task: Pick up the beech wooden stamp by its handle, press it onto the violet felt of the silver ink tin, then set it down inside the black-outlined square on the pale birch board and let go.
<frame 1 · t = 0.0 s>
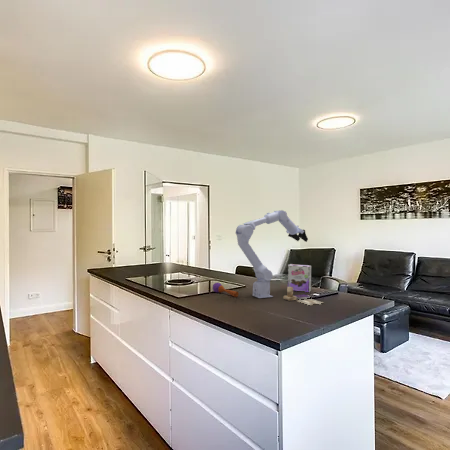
hand: (302, 240, 197), 32 cm above the counter, tool tilted 50°, fingers open, 7 cm apart
ink pad: (301, 298, 182), on the counter
board: (309, 302, 171), on the counter
maraca: (225, 294, 190), on the counter
candy box: (299, 291, 203), on the counter
stamp: (289, 300, 177), on the counter
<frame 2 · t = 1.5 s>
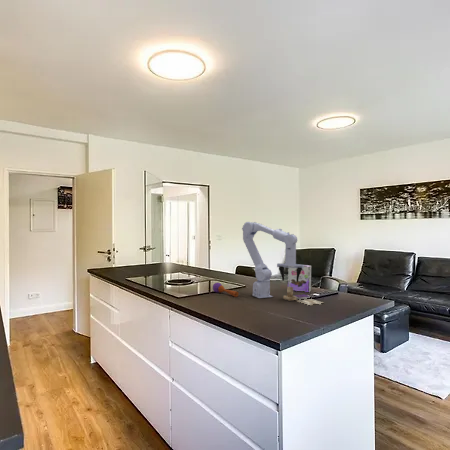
hand: (290, 280, 177), 10 cm above the counter, tool pointing down, fingers open, 7 cm apart
nothing on the counter moved.
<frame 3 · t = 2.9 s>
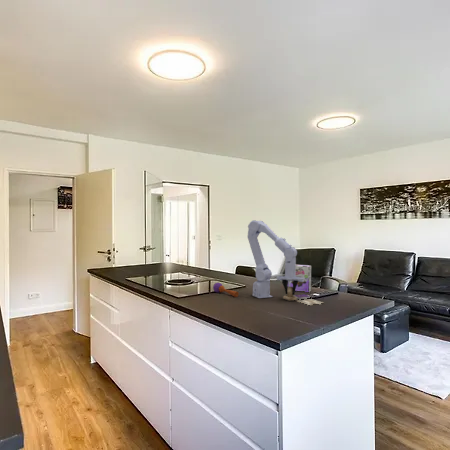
hand: (290, 294, 177), 3 cm above the counter, tool pointing down, fingers closed on stamp, 3 cm apart
stamp: (289, 299, 177), on the counter, touching gripper
everything else where it was.
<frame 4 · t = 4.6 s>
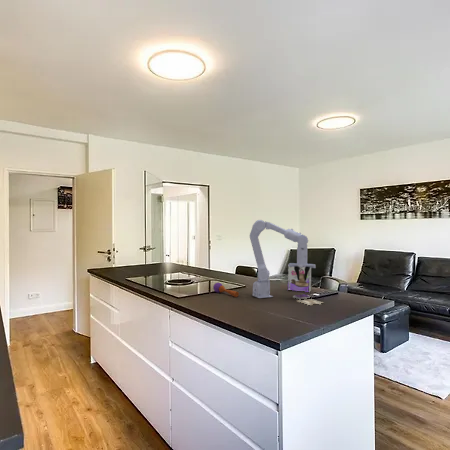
hand: (301, 280, 182), 10 cm above the counter, tool pointing down, fingers closed on stamp, 3 cm apart
stamp: (301, 286, 181), point 7 cm above the counter, touching gripper
everything else where it was.
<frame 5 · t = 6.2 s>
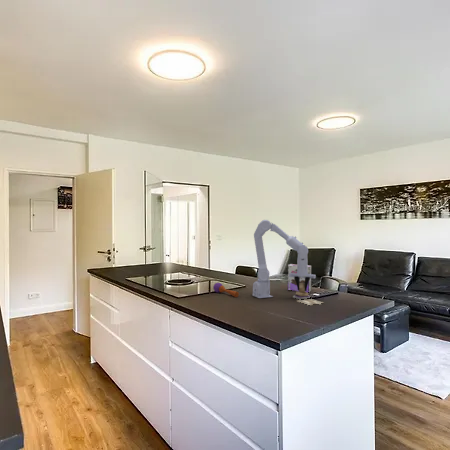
hand: (302, 290, 182), 4 cm above the counter, tool pointing down, fingers closed on stamp, 3 cm apart
stamp: (302, 295, 181), point 1 cm above the counter, touching gripper, ink pad
everything else where it was.
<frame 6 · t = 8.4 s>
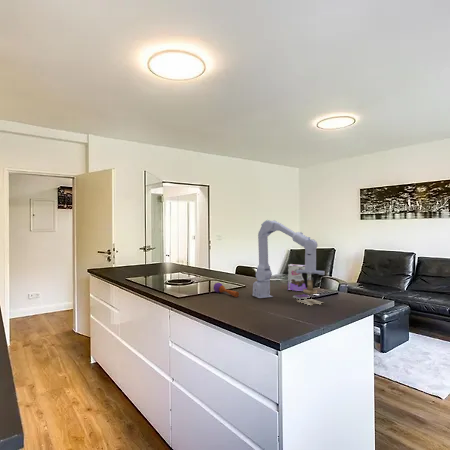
hand: (310, 287, 171), 8 cm above the counter, tool pointing down, fingers closed on stamp, 3 cm apart
stamp: (310, 293, 171), point 5 cm above the counter, touching gripper
everything else where it was.
when the fingers open (4 cm above the counter, at t = 9.6 s): stamp stays where it is, resting on board.
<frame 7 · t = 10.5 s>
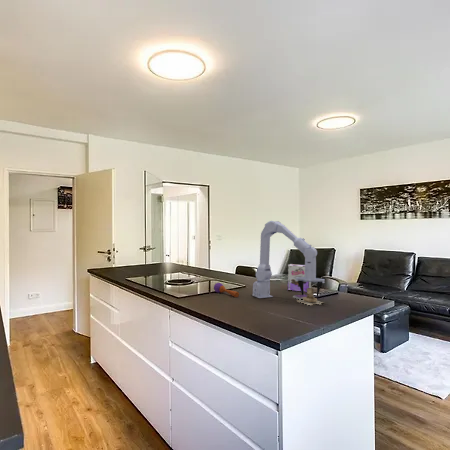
hand: (310, 295, 171), 4 cm above the counter, tool pointing down, fingers open, 7 cm apart
stamp: (310, 301, 171), point 1 cm above the counter, touching board
everything else where it was.
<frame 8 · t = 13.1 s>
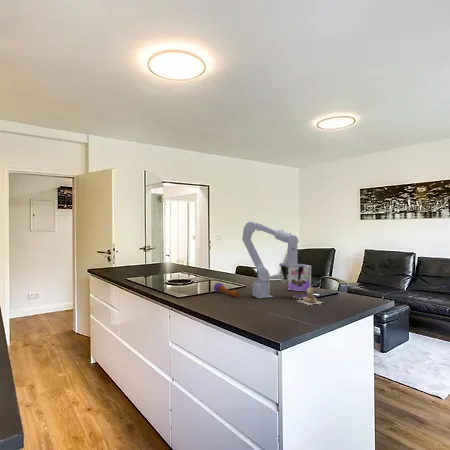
hand: (292, 280, 184), 10 cm above the counter, tool pointing down, fingers open, 7 cm apart
nothing on the counter moved.
at the end: stamp 0.0 cm off-centre on the board, point 0.6 cm above the board's base; stamp tilted 0°; the gripper is holding nothing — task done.
